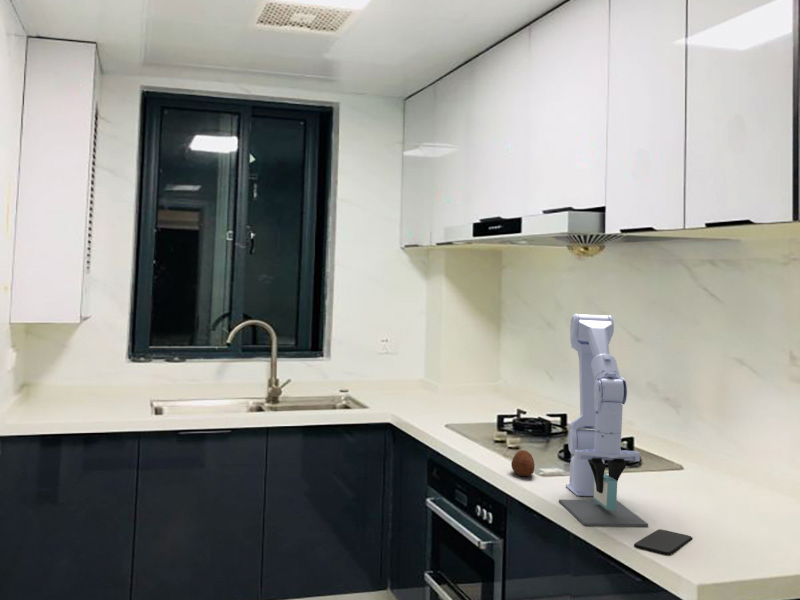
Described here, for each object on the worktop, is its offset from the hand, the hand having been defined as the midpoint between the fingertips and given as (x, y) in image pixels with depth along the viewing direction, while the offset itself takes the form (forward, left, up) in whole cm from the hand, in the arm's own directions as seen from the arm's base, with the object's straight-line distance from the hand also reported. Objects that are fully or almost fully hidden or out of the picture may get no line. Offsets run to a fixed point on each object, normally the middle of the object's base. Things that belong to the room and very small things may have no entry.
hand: (605, 492), depth 176 cm
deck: (0, 0, -3) cm, 3 cm away
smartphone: (+20, +5, -5) cm, 21 cm away
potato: (-34, -10, -5) cm, 36 cm away
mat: (+1, -1, -5) cm, 5 cm away
